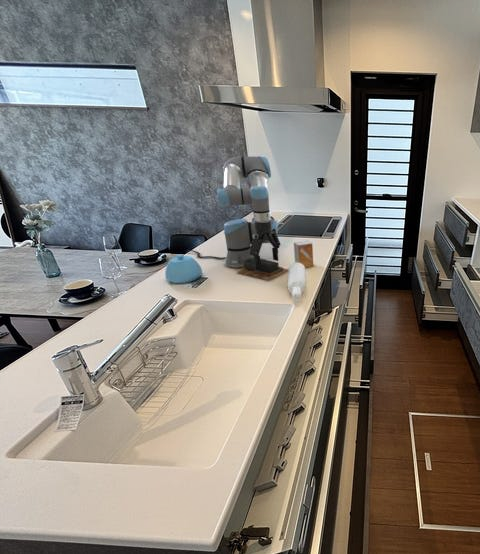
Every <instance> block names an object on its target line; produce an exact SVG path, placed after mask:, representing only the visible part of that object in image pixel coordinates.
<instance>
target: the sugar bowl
mask: <svg viewBox="0 0 480 554" xmlns="http://www.w3.org/2000/svg"><path fill="white" fill-rule="evenodd" d="M202 274H203V269H202V267H201V265H200V263H199V262H197V260H195V258H193V257H192V256H189V255H184V254H181V253H180V254H177V255H176V256H175V257H172V258H171V259H169V260H168V262H167V265H166V267H165V273H164V276H165V279H166V280H168V281H169V282H171V283H173V284H186V283H190V282H193V281H194V282H195V281H196V280H198V279H199V278H200V277H201V276H202Z"/></svg>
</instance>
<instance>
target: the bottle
mask: <svg viewBox="0 0 480 554" xmlns="http://www.w3.org/2000/svg"><path fill="white" fill-rule="evenodd" d="M306 273H307V271H306V268H305V267H304V265H303V264H301V263H295V262H293V263H291V264H290V266H289V267H288V275H287V276H288V277H287V289H288V291H289V293H290V294H291V299H292V300H293V301H294V302H296V303H297V302H300V301H301V299H302V298H303V294H304V293H305V292H306V289H307V274H306Z"/></svg>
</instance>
